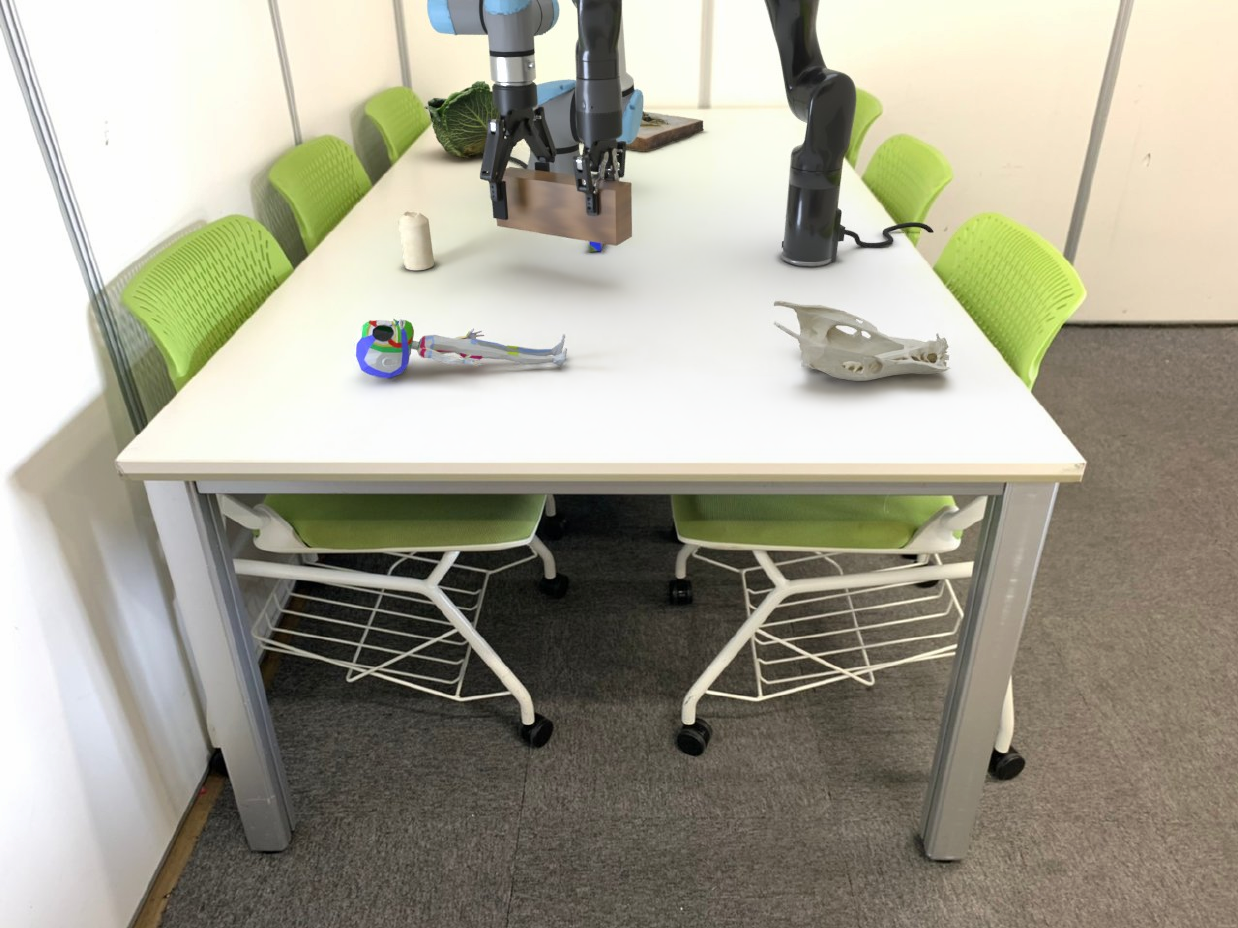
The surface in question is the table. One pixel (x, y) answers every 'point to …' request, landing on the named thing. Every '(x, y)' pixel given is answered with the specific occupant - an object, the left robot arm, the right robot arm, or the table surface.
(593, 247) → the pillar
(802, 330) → the anatomical model
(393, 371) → the toy
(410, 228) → the candle
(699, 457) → the table surface
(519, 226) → the bar
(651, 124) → the plaque
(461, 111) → the vegetable
